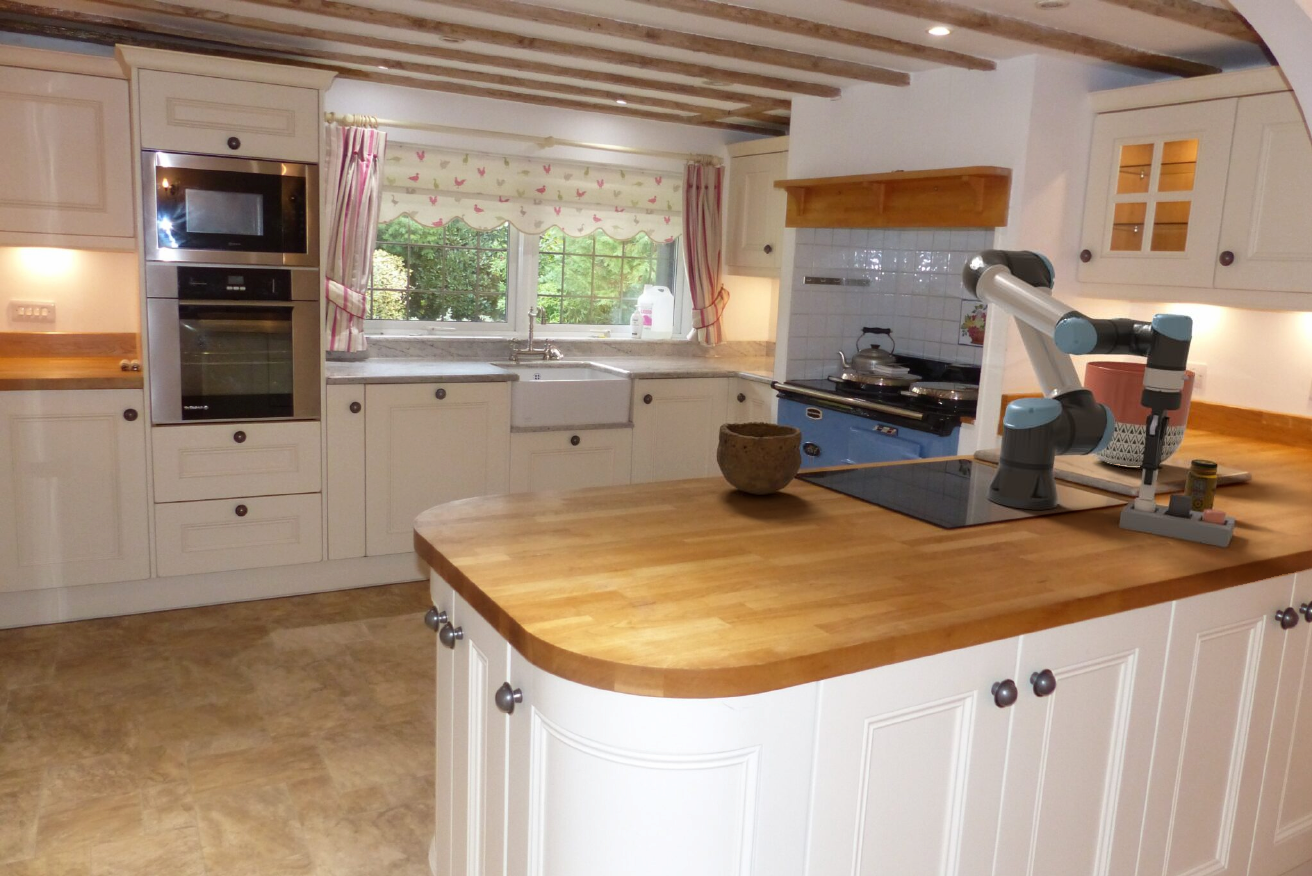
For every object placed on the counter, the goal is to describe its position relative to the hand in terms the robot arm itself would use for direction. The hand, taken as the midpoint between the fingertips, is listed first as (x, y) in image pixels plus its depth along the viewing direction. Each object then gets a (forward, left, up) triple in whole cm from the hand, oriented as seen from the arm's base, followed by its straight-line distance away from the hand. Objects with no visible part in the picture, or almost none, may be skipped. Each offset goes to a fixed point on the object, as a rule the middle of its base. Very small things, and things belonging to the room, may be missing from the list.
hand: (1146, 498), depth 214 cm
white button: (0, 0, -4) cm, 4 cm away
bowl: (-74, -37, -6) cm, 82 cm away
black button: (+6, 0, -2) cm, 7 cm away
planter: (-15, +65, -6) cm, 67 cm away
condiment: (+7, +20, -6) cm, 22 cm away
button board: (+6, 0, -6) cm, 9 cm away
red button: (+13, 0, -4) cm, 14 cm away
